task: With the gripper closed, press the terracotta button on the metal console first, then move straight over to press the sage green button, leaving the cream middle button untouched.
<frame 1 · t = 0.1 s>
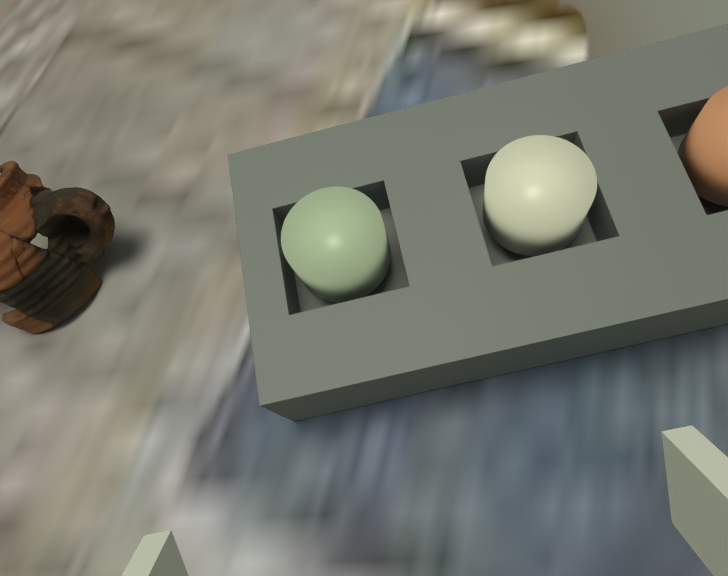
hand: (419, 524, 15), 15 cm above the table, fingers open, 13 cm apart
sage button: (337, 245, 29), point 6 cm above the table, slide at 0.0 cm
cream button: (536, 196, 28), point 6 cm above the table, slide at 0.0 cm
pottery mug: (63, 260, 38), on the table
button console: (522, 246, 33), on the table
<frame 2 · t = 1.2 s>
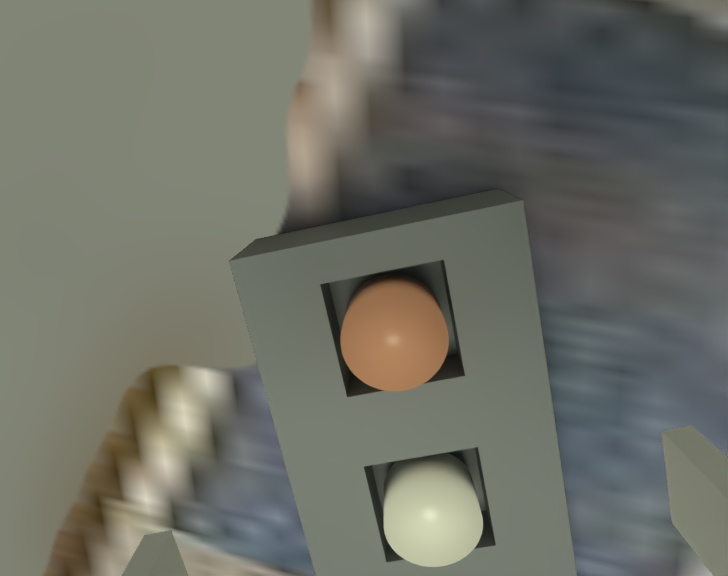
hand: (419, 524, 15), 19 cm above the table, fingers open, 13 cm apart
terracotta button: (393, 330, 28), point 6 cm above the table, slide at 0.0 cm
cream button: (430, 506, 30), point 6 cm above the table, slide at 0.0 cm
button console: (423, 447, 36), on the table
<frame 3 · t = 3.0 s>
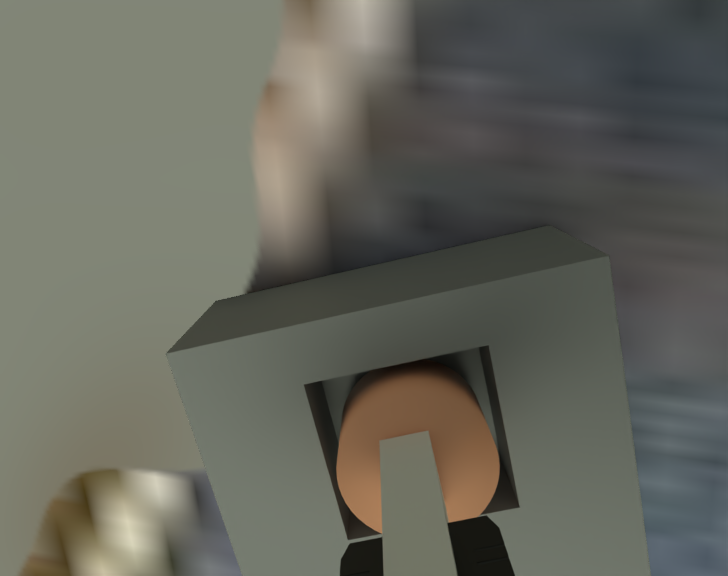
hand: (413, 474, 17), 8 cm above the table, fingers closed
terracotta button: (414, 445, 19), point 6 cm above the table, slide at 0.1 cm, touching gripper
button console: (449, 565, 27), on the table
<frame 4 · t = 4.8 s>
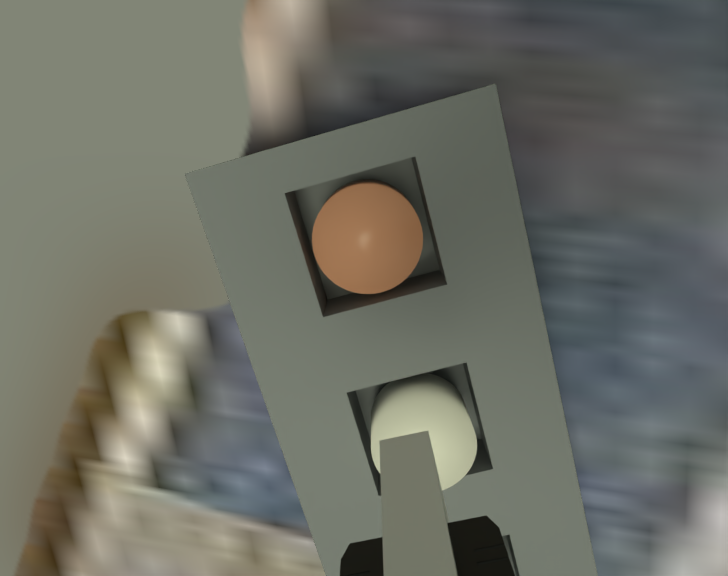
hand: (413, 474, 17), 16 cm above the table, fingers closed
terracotta button: (367, 234, 27), point 5 cm above the table, slide at 1.3 cm
cream button: (421, 431, 28), point 6 cm above the table, slide at 0.0 cm
button console: (412, 381, 34), on the table
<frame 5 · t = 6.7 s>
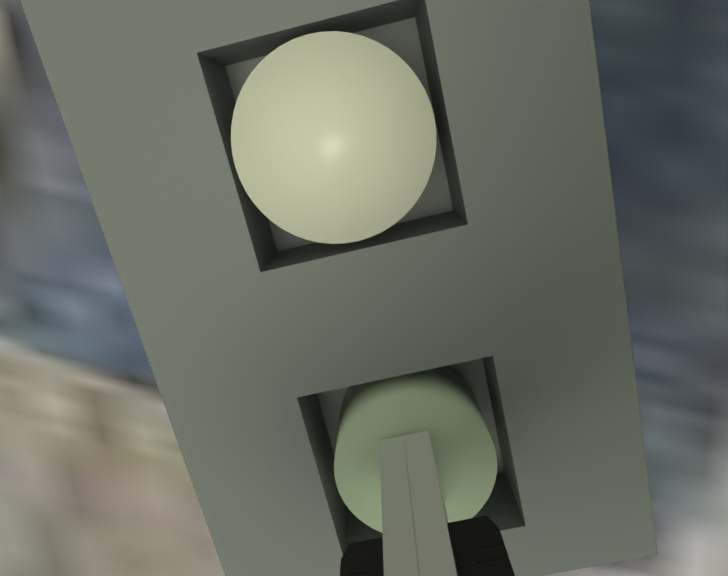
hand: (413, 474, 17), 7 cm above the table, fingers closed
sage button: (412, 443, 19), point 5 cm above the table, slide at 1.2 cm
cream button: (337, 141, 15), point 6 cm above the table, slide at 0.0 cm
button console: (346, 139, 21), on the table
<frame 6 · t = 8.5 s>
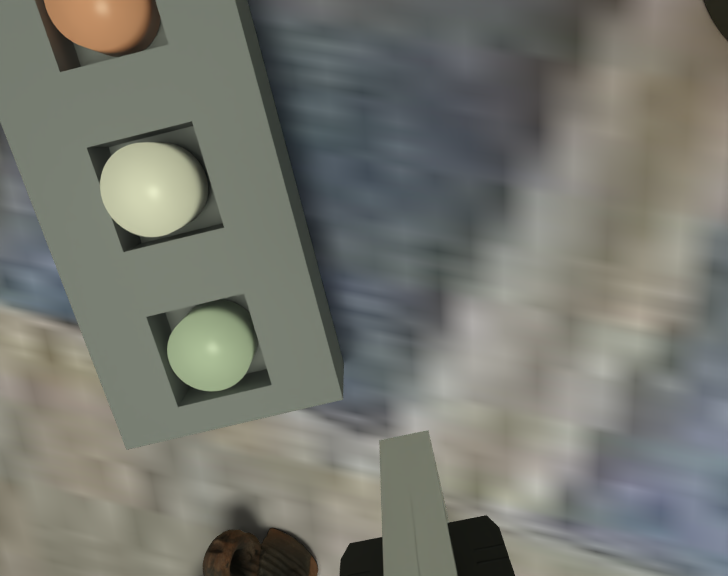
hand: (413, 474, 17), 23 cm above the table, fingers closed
terracotta button: (104, 3, 31), point 5 cm above the table, slide at 1.3 cm
sage button: (215, 344, 36), point 5 cm above the table, slide at 1.3 cm
cream button: (156, 188, 32), point 6 cm above the table, slide at 0.0 cm
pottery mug: (253, 562, 46), on the table
button console: (186, 181, 38), on the table
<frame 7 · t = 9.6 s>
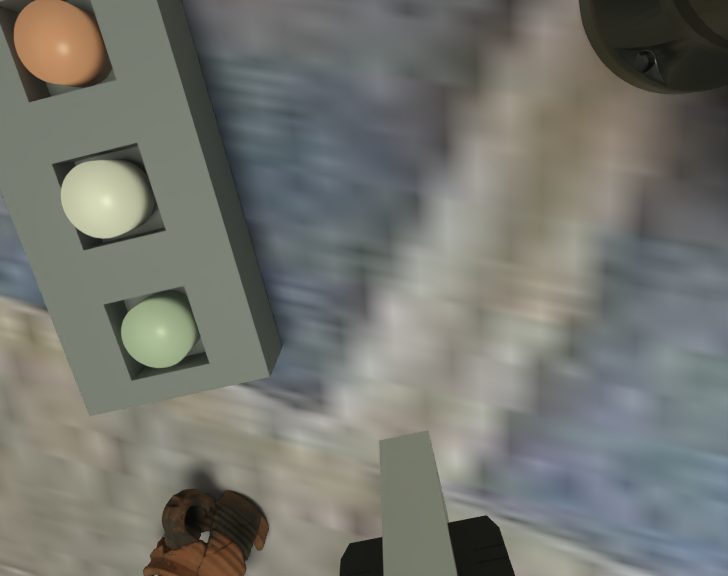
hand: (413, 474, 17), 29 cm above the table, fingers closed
terracotta button: (66, 45, 37), point 5 cm above the table, slide at 1.3 cm
sage button: (163, 328, 42), point 5 cm above the table, slide at 1.3 cm
cream button: (109, 197, 39), point 6 cm above the table, slide at 0.0 cm
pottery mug: (212, 521, 52), on the table
button console: (143, 189, 44), on the table
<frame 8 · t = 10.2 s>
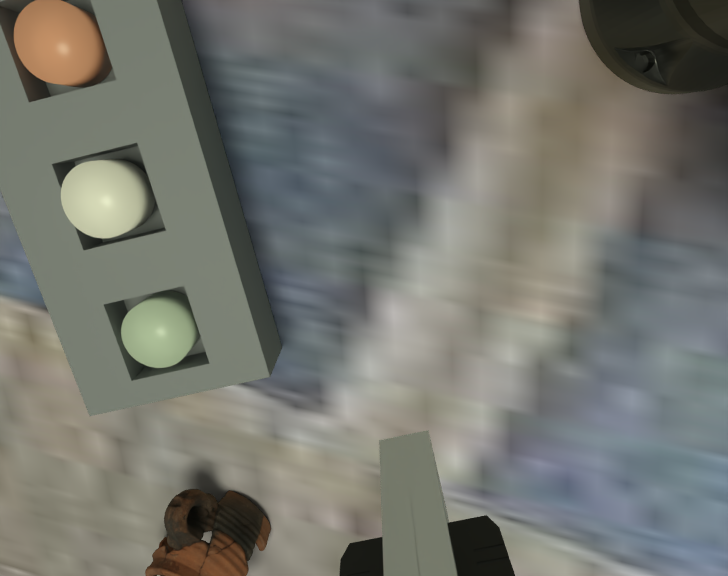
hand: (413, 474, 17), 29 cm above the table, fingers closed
terracotta button: (66, 45, 37), point 5 cm above the table, slide at 1.3 cm
sage button: (163, 328, 42), point 5 cm above the table, slide at 1.3 cm
cream button: (109, 197, 39), point 6 cm above the table, slide at 0.0 cm
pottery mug: (214, 521, 52), on the table
button console: (143, 189, 44), on the table
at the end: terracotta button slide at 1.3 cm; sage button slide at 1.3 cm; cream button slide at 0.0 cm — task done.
